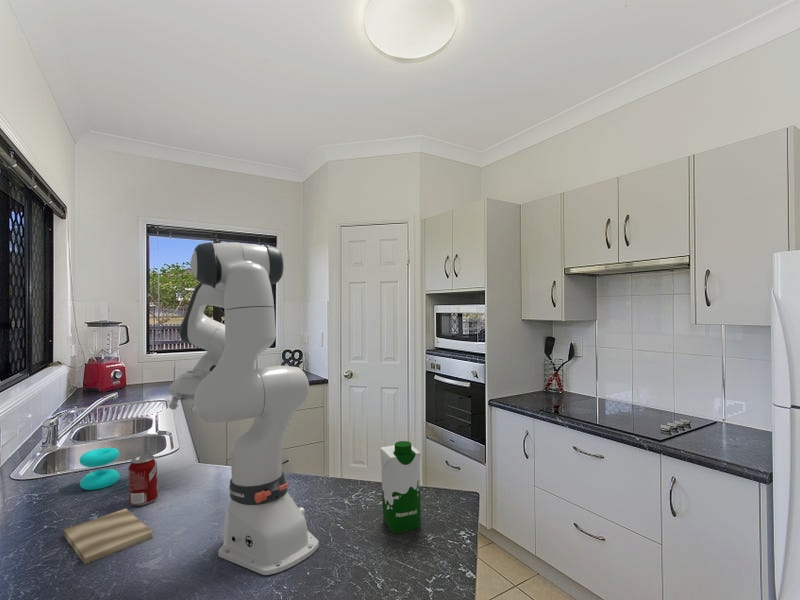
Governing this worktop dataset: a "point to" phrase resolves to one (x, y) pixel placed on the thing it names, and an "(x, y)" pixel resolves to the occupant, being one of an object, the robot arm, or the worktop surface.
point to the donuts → (101, 476)
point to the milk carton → (401, 487)
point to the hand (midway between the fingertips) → (181, 409)
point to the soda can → (143, 480)
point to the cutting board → (106, 535)
